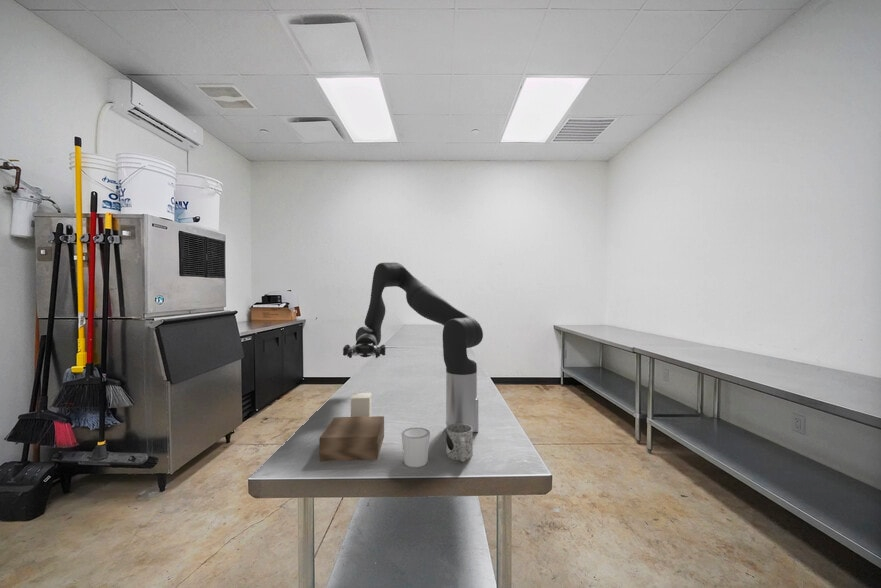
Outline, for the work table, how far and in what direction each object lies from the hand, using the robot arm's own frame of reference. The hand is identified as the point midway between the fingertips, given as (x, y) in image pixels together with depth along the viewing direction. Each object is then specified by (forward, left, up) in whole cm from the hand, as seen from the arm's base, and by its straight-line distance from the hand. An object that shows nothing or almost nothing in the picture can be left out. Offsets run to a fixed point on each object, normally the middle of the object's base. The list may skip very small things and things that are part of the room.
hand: (363, 355), depth 113 cm
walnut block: (-1, +23, -21) cm, 31 cm away
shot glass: (-17, +32, -21) cm, 41 cm away
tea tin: (-1, +10, -21) cm, 23 cm away
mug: (-28, +31, -21) cm, 46 cm away
